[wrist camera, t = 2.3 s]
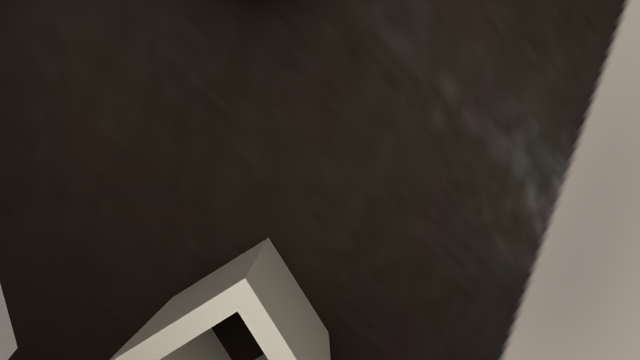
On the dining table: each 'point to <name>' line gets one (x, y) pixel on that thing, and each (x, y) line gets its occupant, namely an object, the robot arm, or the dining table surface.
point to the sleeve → (224, 300)
